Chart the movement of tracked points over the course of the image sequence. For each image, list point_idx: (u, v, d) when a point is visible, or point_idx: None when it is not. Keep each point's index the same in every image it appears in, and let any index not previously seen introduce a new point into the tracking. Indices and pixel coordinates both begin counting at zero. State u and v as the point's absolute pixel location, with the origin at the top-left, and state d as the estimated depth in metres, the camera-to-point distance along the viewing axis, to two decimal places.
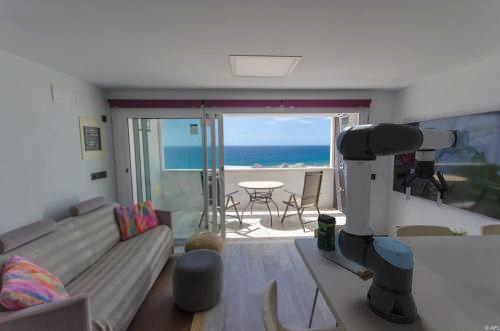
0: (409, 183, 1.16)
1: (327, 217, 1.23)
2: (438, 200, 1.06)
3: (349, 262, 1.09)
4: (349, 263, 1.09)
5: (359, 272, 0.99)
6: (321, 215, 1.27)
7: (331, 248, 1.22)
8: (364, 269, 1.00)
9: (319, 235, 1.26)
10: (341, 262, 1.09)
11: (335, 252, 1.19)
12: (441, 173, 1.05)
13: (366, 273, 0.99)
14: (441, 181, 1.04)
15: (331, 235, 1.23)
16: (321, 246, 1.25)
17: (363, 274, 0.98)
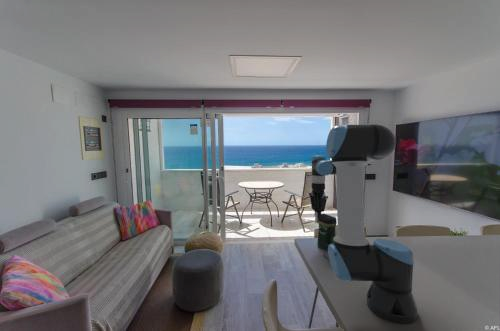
0: (315, 205, 1.31)
1: (328, 217, 1.23)
2: (316, 218, 1.31)
3: None
4: None
5: None
6: (322, 215, 1.26)
7: None
8: None
9: (319, 235, 1.26)
10: None
11: None
12: (326, 198, 1.26)
13: None
14: (321, 203, 1.27)
15: (332, 236, 1.23)
16: (321, 246, 1.25)
17: None
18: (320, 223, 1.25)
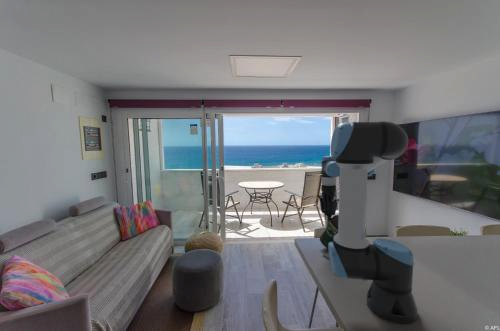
0: (325, 209, 1.25)
1: None
2: (326, 222, 1.24)
3: None
4: None
5: None
6: (336, 218, 1.18)
7: None
8: None
9: (325, 234, 1.22)
10: None
11: None
12: (337, 201, 1.19)
13: None
14: (332, 207, 1.20)
15: None
16: (323, 243, 1.24)
17: None
18: (331, 225, 1.19)
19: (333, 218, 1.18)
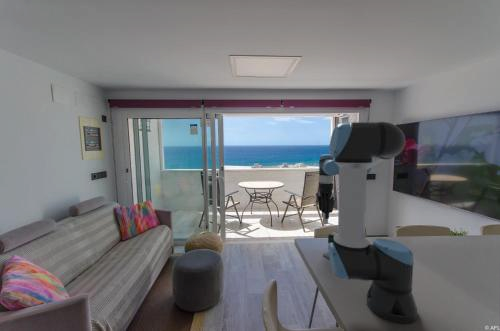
0: (322, 206, 1.27)
1: None
2: (324, 219, 1.26)
3: None
4: None
5: None
6: None
7: None
8: None
9: None
10: None
11: None
12: (334, 199, 1.21)
13: None
14: (329, 204, 1.22)
15: None
16: (329, 242, 1.20)
17: None
18: None
19: None
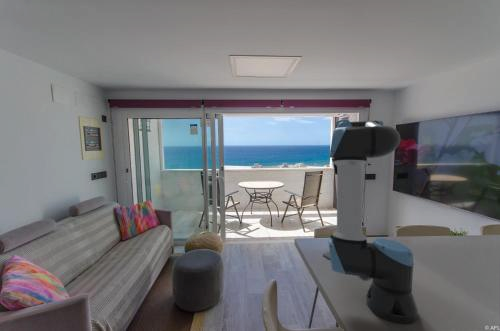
0: None
1: None
2: None
3: None
4: None
5: None
6: None
7: None
8: None
9: None
10: None
11: None
12: None
13: None
14: None
15: None
16: None
17: None
18: None
19: None
